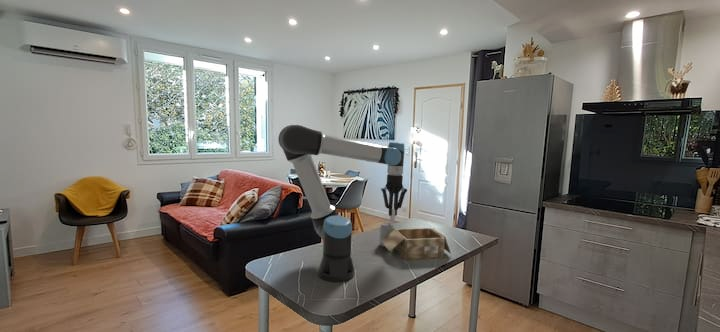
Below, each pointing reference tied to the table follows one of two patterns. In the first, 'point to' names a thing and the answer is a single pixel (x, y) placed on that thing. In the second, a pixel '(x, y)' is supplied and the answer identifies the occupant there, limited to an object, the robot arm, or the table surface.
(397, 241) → the flap left
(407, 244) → the carton
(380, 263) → the table surface
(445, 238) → the flap right
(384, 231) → the can
